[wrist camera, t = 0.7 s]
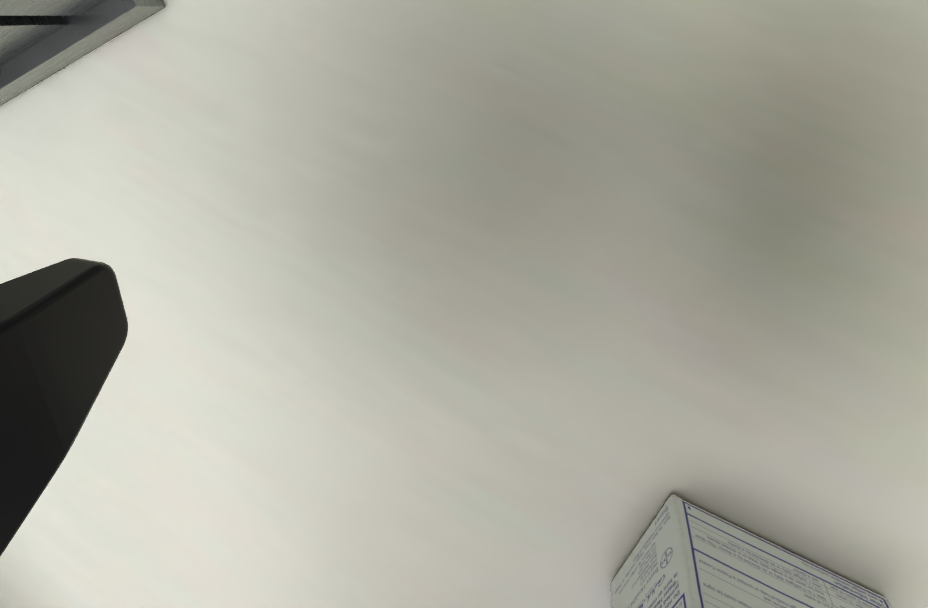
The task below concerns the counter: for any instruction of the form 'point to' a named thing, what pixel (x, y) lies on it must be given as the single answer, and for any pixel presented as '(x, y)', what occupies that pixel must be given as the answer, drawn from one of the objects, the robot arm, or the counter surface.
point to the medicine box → (724, 569)
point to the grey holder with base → (58, 35)
